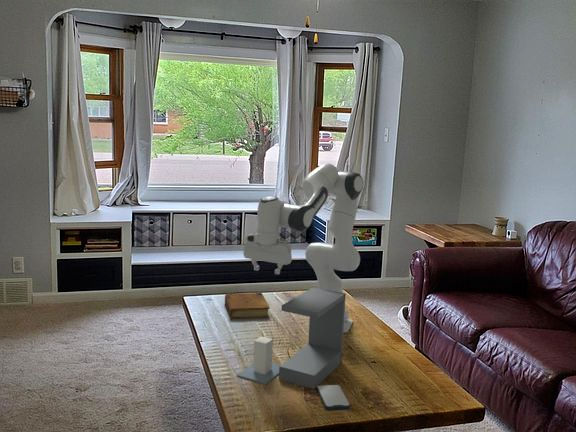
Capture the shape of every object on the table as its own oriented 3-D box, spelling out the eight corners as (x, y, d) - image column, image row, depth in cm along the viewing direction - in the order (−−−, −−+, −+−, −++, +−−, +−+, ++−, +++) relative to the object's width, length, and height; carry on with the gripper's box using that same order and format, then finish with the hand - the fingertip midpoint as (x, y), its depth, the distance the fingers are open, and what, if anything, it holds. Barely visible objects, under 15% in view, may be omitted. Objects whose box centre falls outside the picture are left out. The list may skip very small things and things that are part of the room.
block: (260, 366, 212) (261, 336, 210) (271, 369, 210) (272, 339, 208) (253, 371, 208) (254, 340, 206) (265, 374, 206) (266, 343, 203)
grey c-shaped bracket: (309, 354, 226) (312, 287, 222) (341, 362, 220) (345, 293, 215) (278, 379, 204) (281, 305, 199) (313, 388, 197) (317, 312, 193)
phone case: (315, 389, 198) (325, 411, 183) (315, 385, 198) (325, 407, 183) (339, 388, 200) (351, 410, 184) (339, 384, 200) (351, 406, 184)
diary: (224, 304, 285) (224, 293, 284) (261, 303, 289) (261, 292, 288) (229, 320, 263) (230, 308, 262) (269, 318, 267) (269, 306, 266)
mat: (259, 360, 219) (259, 359, 218) (286, 367, 213) (286, 366, 213) (237, 376, 205) (237, 374, 204) (265, 384, 199) (265, 382, 199)
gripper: (295, 240, 218) (293, 274, 220) (250, 233, 227) (249, 266, 230) (287, 242, 213) (286, 278, 215) (241, 236, 222) (241, 269, 224)
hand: (266, 272), depth 222 cm, fingers open, 8 cm apart
